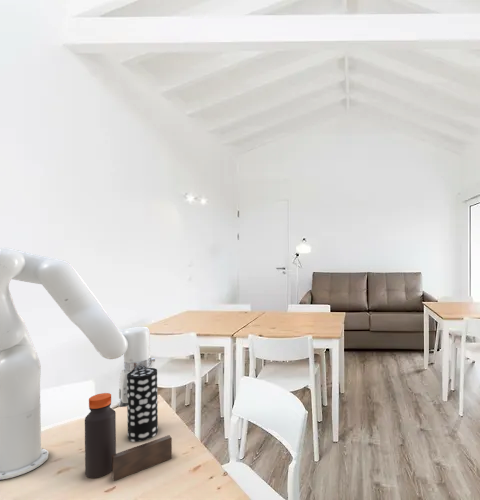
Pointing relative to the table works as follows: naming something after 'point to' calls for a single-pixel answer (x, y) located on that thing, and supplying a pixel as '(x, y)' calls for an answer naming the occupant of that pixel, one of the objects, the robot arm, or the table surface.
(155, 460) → the bar
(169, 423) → the table surface
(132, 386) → the white-spotted black cylinder
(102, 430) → the bottle
